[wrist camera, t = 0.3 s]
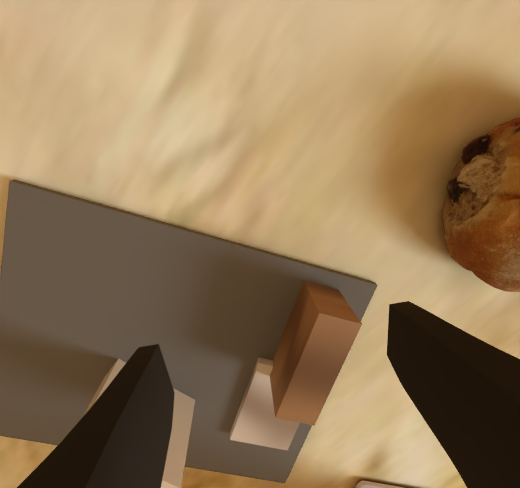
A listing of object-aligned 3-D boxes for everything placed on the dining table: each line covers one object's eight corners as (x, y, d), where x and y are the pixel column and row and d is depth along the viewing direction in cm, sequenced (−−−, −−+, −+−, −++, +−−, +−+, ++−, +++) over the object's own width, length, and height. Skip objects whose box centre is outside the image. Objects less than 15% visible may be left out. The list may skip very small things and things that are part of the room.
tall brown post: (289, 276, 20) (301, 308, 16) (353, 293, 21) (379, 328, 17) (230, 432, 24) (228, 489, 20) (286, 443, 24) (295, 499, 20)
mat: (284, 478, 26) (285, 483, 26) (-11, 428, 23) (-15, 433, 22) (374, 282, 21) (377, 285, 21) (14, 179, 18) (9, 181, 17)
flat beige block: (118, 358, 21) (74, 440, 15) (195, 399, 22) (180, 488, 17) (104, 377, 21) (55, 464, 16) (180, 416, 23) (161, 509, 17)
